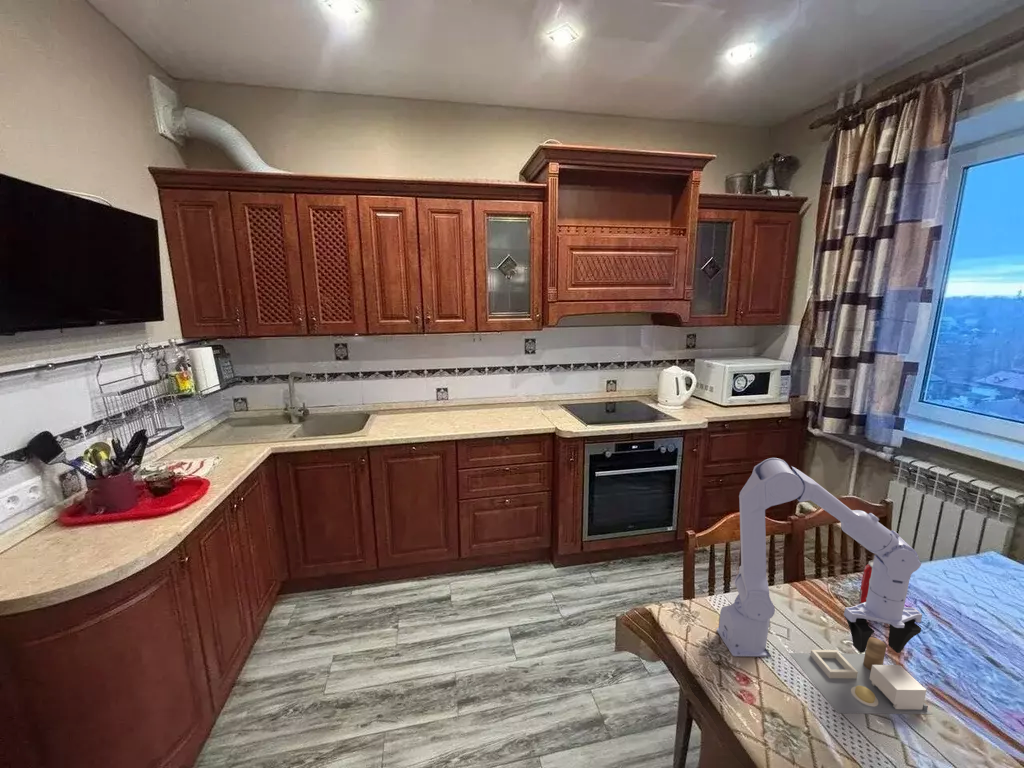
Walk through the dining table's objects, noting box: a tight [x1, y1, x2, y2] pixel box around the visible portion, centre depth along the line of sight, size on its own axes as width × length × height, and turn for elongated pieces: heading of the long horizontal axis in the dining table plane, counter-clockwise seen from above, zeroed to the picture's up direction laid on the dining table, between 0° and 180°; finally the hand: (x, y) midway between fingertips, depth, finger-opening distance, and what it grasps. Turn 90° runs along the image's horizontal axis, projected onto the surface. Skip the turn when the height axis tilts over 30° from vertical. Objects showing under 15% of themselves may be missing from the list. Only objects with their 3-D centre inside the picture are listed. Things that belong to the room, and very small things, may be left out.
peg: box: [863, 636, 887, 671], centre depth 89 cm, size 3×3×6 cm
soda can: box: [858, 559, 874, 604], centre depth 108 cm, size 7×7×12 cm
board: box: [789, 649, 933, 715], centre depth 86 cm, size 18×14×3 cm
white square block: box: [869, 664, 928, 710], centre depth 82 cm, size 6×6×4 cm
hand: (876, 649), depth 89 cm, fingers open, 7 cm apart
